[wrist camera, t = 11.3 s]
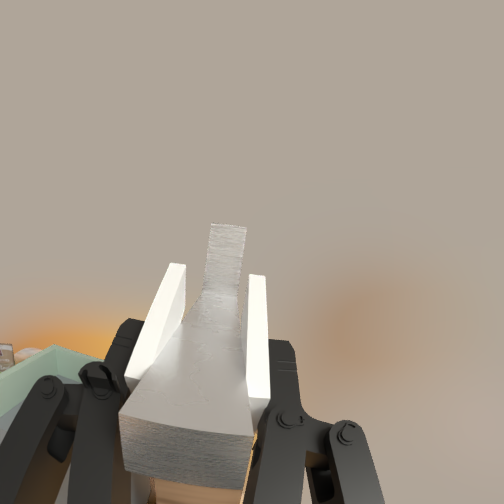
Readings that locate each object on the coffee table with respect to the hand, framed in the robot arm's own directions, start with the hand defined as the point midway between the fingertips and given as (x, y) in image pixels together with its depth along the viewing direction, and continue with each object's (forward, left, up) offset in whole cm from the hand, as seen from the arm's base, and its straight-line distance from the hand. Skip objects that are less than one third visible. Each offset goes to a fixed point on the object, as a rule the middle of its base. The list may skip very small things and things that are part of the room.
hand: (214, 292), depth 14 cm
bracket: (+2, +1, -4) cm, 4 cm away
